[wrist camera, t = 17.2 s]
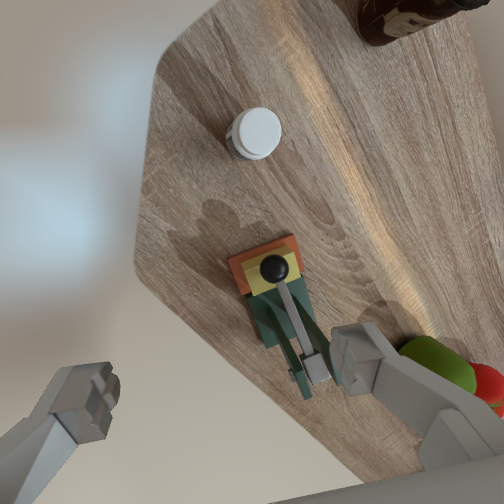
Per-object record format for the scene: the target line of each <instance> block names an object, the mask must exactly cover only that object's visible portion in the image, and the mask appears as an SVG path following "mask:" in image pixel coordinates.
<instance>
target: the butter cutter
mask: <svg viewBox="0 0 504 504" xmlns="http://www.w3.org/2000/svg"><path fill="white" fill-rule="evenodd" d="M300 275H301V277H300V278H298V279H295V280H293V281H290V282H288V283H286V285H287V288H288V290H289V292H290V295H291V297H292V300H293V302H294V304H295V307H296V309H297V312H298V314H299V317H300V319H301V321H302V324H303V326H304V329H305V331H306V333H307V336H308V338H309V341H310V343H311V345H312V346H313V348H315V349H317V350H318V351H319V352H320V353H321V354H322V357H323V359H324V361H325V364H326V366H327V369H328V371H329V373H330V375H331V376H332V378H333V380H334V381H335V383H336V384H337V386H339V385H341V384H342V382H341V379H340V377H341V372H340V371H339V370H337V369H336V368H335V367H334V365H333V363H332V360H331V357H330V351H329V345H330V342H329V341H328V340H327V338H326V337H325V336H324V334H323V333H322V332H321V330H320V329H319V328H318V326H317V324H316V321H315V317H314V313H313V310H312V306H311V303H310V299H309V295H308V292H307V288H306V285H305V281H304V277H303V276H302V274H301V273H300ZM245 296H246V299H247V301H248V304H249V306H250V309H251V311H252V314H253V317H254V319H255V322H256V324H257V327H258V329H259V332H260V334H261V337H262V339H263V342H264V344H265V347H266V349H267V348H270V347H272V346H275V345H277V344H279V345H280V347H281V349H282V352H283V354H284V356H285V358H286V360H287V363H288V365H289V367H290V369H289V370H288V372H289V375H290V377H291V380H292V382H297V384H298V387H299V389H300V391H301V393H302V395H303V397H304V400H307V399H309V398H311V397H313V395H312V392H311V389H310V386H309V383H308V380H307V377H306V374H305V371H304V369H303V367H302V365H301V363H300V361H299V359H298V357H297V355H296V353H295V351H294V350H293V348H292V346H291V344H290V342H289V339H291V338H293V337H296V334H295V331H294V329H293V326H292V324H291V322H290V319H289V317H288V314H287V312H286V309H285V307H284V304H283V302H282V300H281V297H280V295H279V292H278V290H277V287H275V288H273V289H270V290H268V291H266V292H263V293H261V294H258V295H256V296H253V294H252V292H251V293H249V294H246V295H245Z"/></svg>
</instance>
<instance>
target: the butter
mask: <svg viewBox="0 0 504 504" xmlns="http://www.w3.org/2000/svg"><path fill="white" fill-rule="evenodd" d="M270 254H278V255H281V256H282V257H284V258H285V259H286V260H287V262H288V265H289V273H288V276H287V277H286V279H285V283H288V282H290V281H293V280H295V279H298V278H300V277H301V275H300V272H302V271H304V268H303V265H302V261H301V257H300V254H299V250H298V246H297V243H296V239H295V235H294V234H293V233H292V234H289V235H286V236H284V237H281V238H279V239H276V240H274V241H271V242H268V243H266V244H263V245H261V246H258V247H256V248H253V249H250V250H248V251H245V252H243V253H240V254H238V255H235V256H232V257H230V258H227V260H228V263H229V266H230V268H231V270H232V273H233V275H234V278H235V280H236V283H237V285H238V288H239V290H240V293H241V295H245V294H247V293H250V292H252V294H253V296H256V295H258V294H261V293H263V292H266V291H268V290H270V289H273V288H275V287H276V285H275V284H272V283H268V282H267V281H265V280H264V279H263V278H262V276H261V274H260V270H259V268H260V263H261V261H262V260H263V259H264V258H265V257H266V256H268V255H270Z"/></svg>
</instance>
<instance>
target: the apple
mask: <svg viewBox="0 0 504 504" xmlns="http://www.w3.org/2000/svg"><path fill="white" fill-rule="evenodd" d="M398 354H399V355H400V356H406V357H407V358H409V359H411V360H413V361H414V362H416V363H418V364H420V365H422V366H423V367H425V368H427V369H429V370H430V371H432V372H434V373H436V374H438V375H439V376H441V377H443V378H445V379H446V380H448V381H450V382H452V383H453V384H455V385H457V386H459V387H461V388H462V389H464V390H466V391H468V392H469V393H471V394H474V393H475V392H476V387H477V383H476V378H475V372H474V369H473V368H472V367H471V366H470V365H469V364H468V363H467V362H466V361H465V360H464V359H463V358H462V357H461V356H459V355H458V354H457V353H455V352H453V351H452V350H450V349H449V348H447V347H446V346H444V345H443V344H441V343H440V342H438V341H437V340H435V339H434V338H432V337H431V336H420V337H417V338H415V339H413V340H411V341H409V342H408V343H407V344H405V345H404V346H403V347H402V348H401V349H400V350H399V352H398Z"/></svg>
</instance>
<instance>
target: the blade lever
mask: <svg viewBox="0 0 504 504" xmlns="http://www.w3.org/2000/svg"><path fill="white" fill-rule="evenodd" d="M259 270H260V274H261V276H262V278H263V279H264V280H265V281H267V282H268V283H272V284H275V285H276V287H277V290H278V292H279V295H280V297H281V300H282V302H283V304H284V307H285V309H286V312H287V314H288V317H289V319H290V322H291V324H292V326H293V329H294V331H295V334H296V336H297V339H298V341H299V344H300V346H301V348H302V351H303V354H300V355H299V357H300V360H301V362H302V365H303V367H304V370H305V372H306V375H307V377H308V379H309V380H310V382H311V383H312V384H313V385H315V384H317V383H319V382H322V381H324V380H326V379H328V378H331V376H330V373H329V371H328V369H327V366H326V364H325V361H324V359H323V357H322V354H321V353H320V352H319V351H318V350H317V349H315V348H314V349H313V348H312V345H311V343H310V341H309V338H308V336H307V333H306V331H305V329H304V326H303V324H302V321H301V319H300V317H299V314H298V312H297V309H296V307H295V304H294V302H293V300H292V297H291V295H290V292H289V290H288V288H287V285H286V283H285V279H286V277H287V276H288V273H289V265H288V262H287V260H286V259H285V258H284V257H282V256H281V255H278V254H270V255H268V256H266V257H265V258H264V259H263V260H262V261H261V263H260V268H259Z"/></svg>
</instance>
